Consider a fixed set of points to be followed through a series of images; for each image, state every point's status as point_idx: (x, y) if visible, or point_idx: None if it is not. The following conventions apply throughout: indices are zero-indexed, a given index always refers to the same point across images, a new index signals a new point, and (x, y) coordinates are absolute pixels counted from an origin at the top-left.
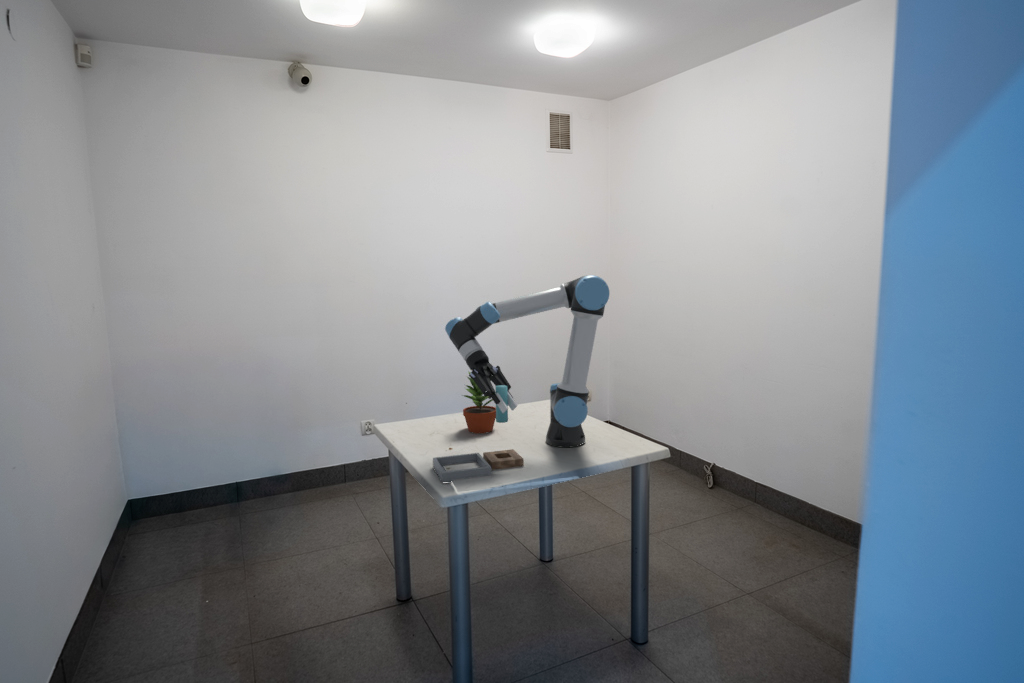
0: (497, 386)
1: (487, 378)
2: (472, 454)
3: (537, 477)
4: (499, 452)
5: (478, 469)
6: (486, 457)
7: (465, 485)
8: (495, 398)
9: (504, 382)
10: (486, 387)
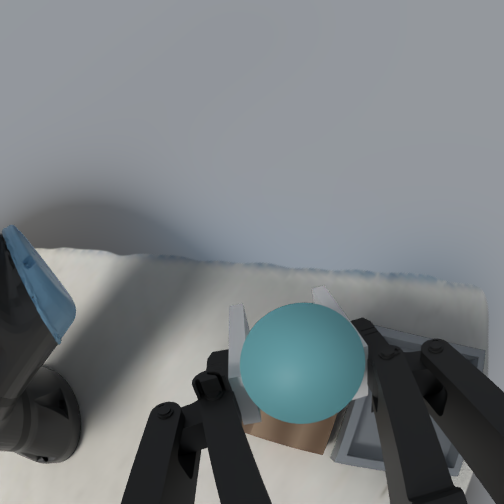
0: (341, 378)
1: (432, 475)
2: (358, 458)
3: (272, 271)
4: (279, 426)
5: (407, 334)
6: (335, 417)
7: (436, 322)
8: (379, 332)
9: (175, 466)
10: (460, 369)
